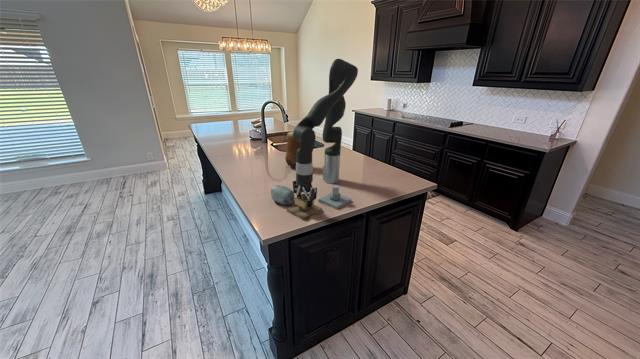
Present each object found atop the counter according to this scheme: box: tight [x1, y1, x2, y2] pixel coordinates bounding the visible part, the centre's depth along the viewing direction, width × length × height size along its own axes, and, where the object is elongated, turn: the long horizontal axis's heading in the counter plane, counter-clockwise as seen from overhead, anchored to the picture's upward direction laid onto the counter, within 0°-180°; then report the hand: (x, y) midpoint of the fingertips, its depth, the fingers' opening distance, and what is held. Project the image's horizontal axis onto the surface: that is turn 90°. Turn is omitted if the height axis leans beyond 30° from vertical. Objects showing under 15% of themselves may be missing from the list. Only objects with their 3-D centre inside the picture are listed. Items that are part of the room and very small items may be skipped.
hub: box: [318, 184, 352, 210], centre depth 129 cm, size 12×12×8 cm
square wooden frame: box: [294, 195, 315, 208], centre depth 118 cm, size 6×6×3 cm
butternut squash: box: [284, 130, 301, 169], centre depth 173 cm, size 14×13×25 cm
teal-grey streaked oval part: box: [270, 185, 296, 206], centre depth 128 cm, size 14×10×10 cm
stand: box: [286, 193, 323, 221], centre depth 119 cm, size 12×12×8 cm
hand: (304, 204), depth 119 cm, fingers closed on square wooden frame, 6 cm apart
